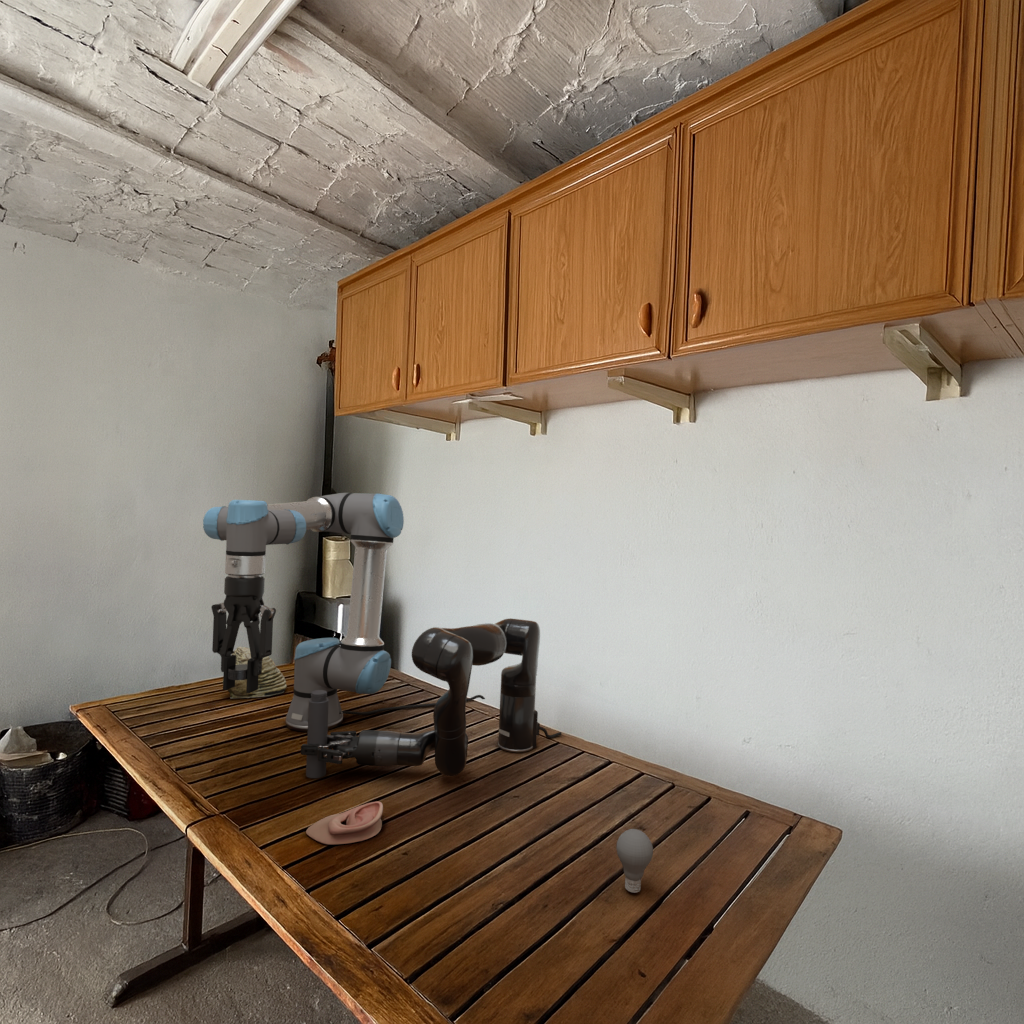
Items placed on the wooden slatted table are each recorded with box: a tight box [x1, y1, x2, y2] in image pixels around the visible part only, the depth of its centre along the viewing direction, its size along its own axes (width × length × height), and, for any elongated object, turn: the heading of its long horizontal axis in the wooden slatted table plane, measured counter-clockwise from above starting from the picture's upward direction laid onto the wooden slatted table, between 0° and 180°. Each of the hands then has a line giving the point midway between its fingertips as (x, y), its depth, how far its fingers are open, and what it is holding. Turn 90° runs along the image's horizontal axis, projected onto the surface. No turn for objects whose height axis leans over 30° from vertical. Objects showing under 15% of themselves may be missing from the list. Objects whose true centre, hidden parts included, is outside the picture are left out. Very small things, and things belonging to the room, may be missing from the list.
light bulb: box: [615, 828, 654, 894], centre depth 106 cm, size 6×6×10 cm
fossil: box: [226, 646, 288, 699], centre depth 198 cm, size 9×18×15 cm, turn 132°
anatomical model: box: [305, 800, 384, 846], centre depth 121 cm, size 13×4×12 cm
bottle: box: [305, 690, 329, 779], centre depth 144 cm, size 4×4×19 cm
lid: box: [228, 664, 247, 680], centre depth 129 cm, size 5×5×2 cm
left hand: (240, 689), depth 129 cm, fingers closed on lid, 5 cm apart
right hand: (305, 745), depth 144 cm, fingers closed on bottle, 4 cm apart
